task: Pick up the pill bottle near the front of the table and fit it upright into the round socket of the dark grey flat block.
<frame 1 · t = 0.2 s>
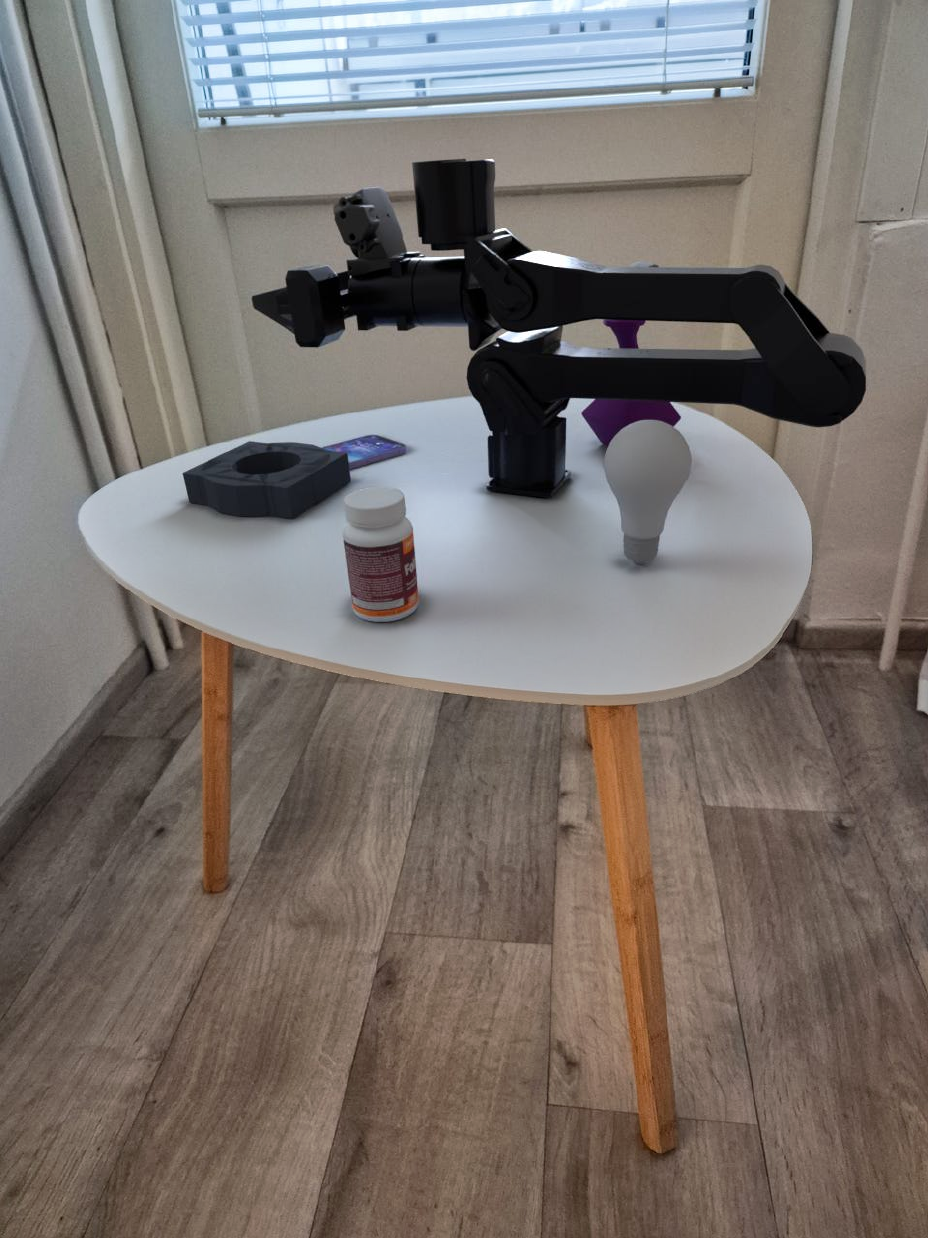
hand: (281, 294, 77), 17 cm above the table, tool horizontal, fingers open, 9 cm apart
lightbulb: (639, 565, 61), on the table
purple potion bottle: (628, 447, 85), on the table
smartphone: (334, 465, 85), on the table
dark grey flat block: (271, 491, 77), on the table
pill bottle: (386, 609, 57), on the table
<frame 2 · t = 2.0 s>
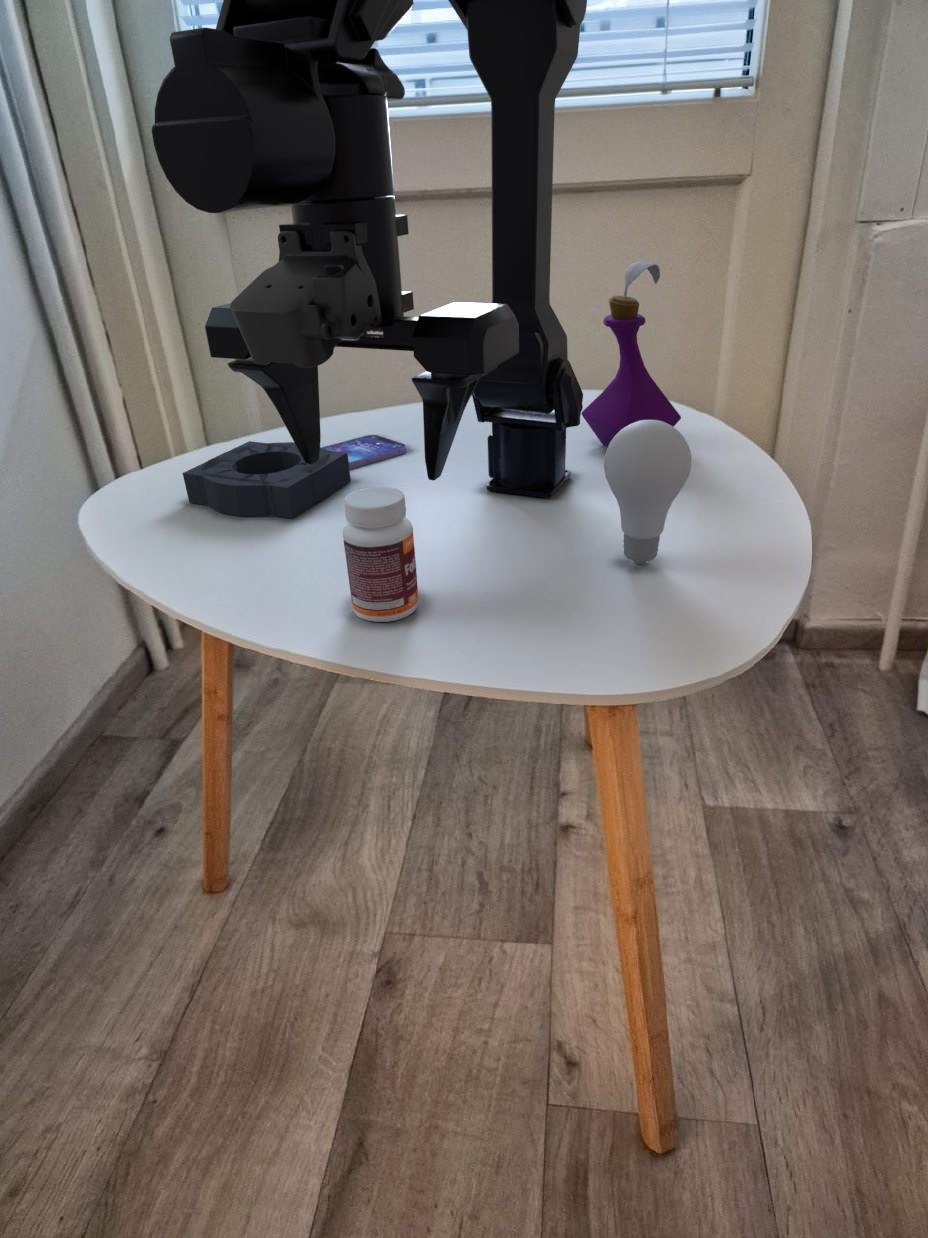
hand: (371, 470, 51), 10 cm above the table, tool pointing down, fingers open, 9 cm apart
nothing on the table moved.
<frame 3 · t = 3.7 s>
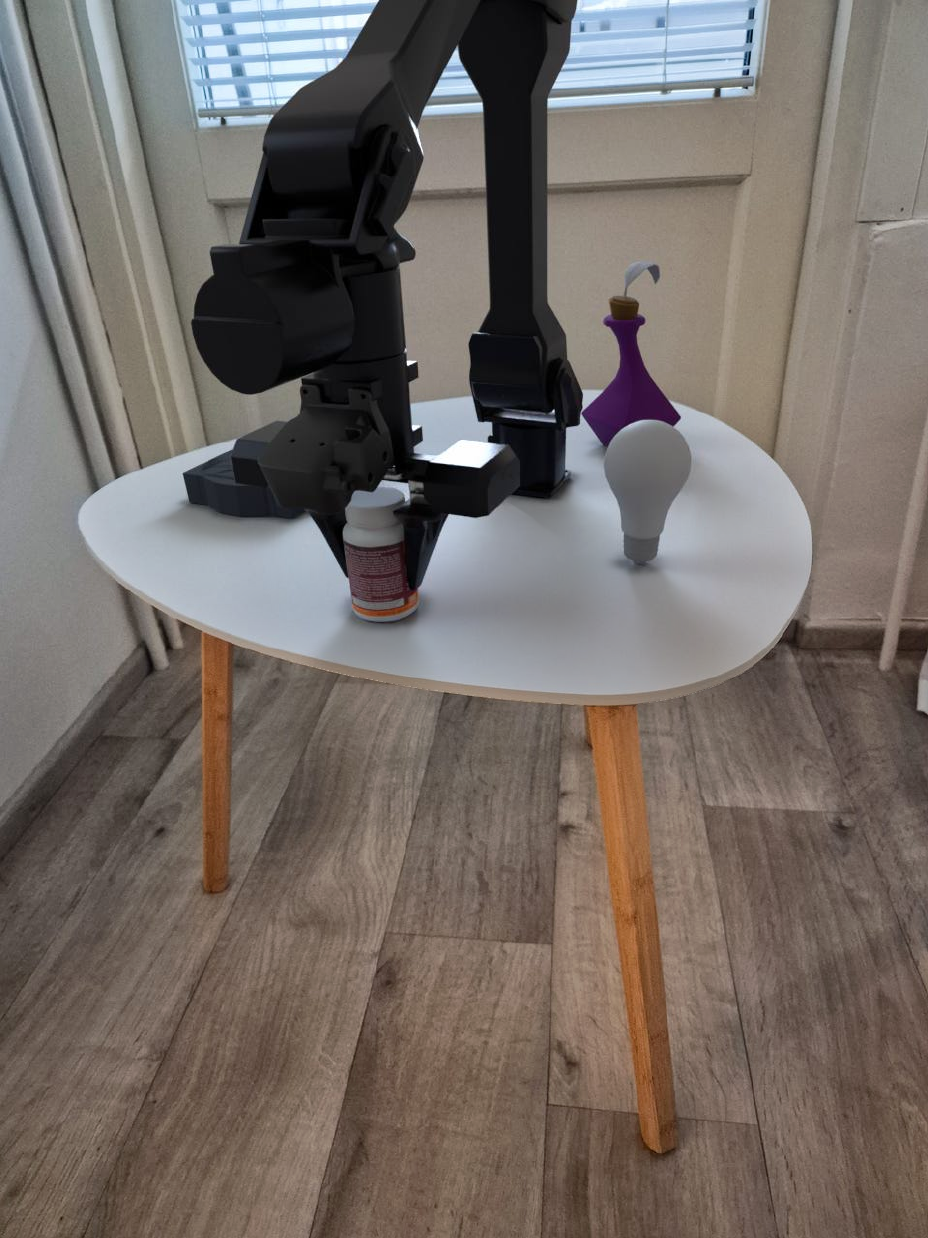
hand: (383, 581, 56), 2 cm above the table, tool pointing down, fingers closed on pill bottle, 5 cm apart
pill bottle: (386, 609, 57), on the table, touching gripper
everything else where it was.
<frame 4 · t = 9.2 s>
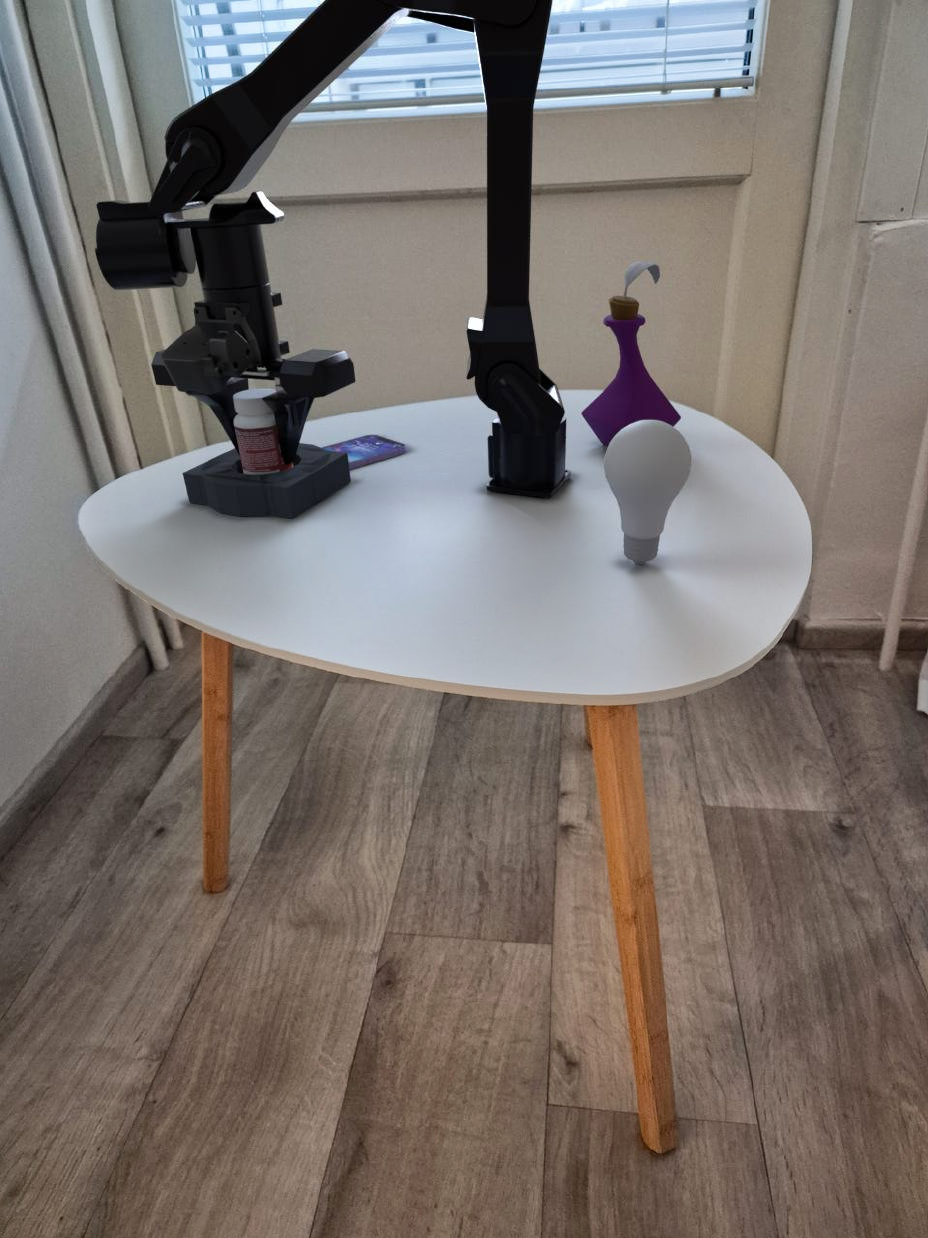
hand: (267, 460, 76), 3 cm above the table, tool pointing down, fingers closed on pill bottle, 5 cm apart
pill bottle: (271, 482, 77), point 1 cm above the table, touching gripper
everything else where it was.
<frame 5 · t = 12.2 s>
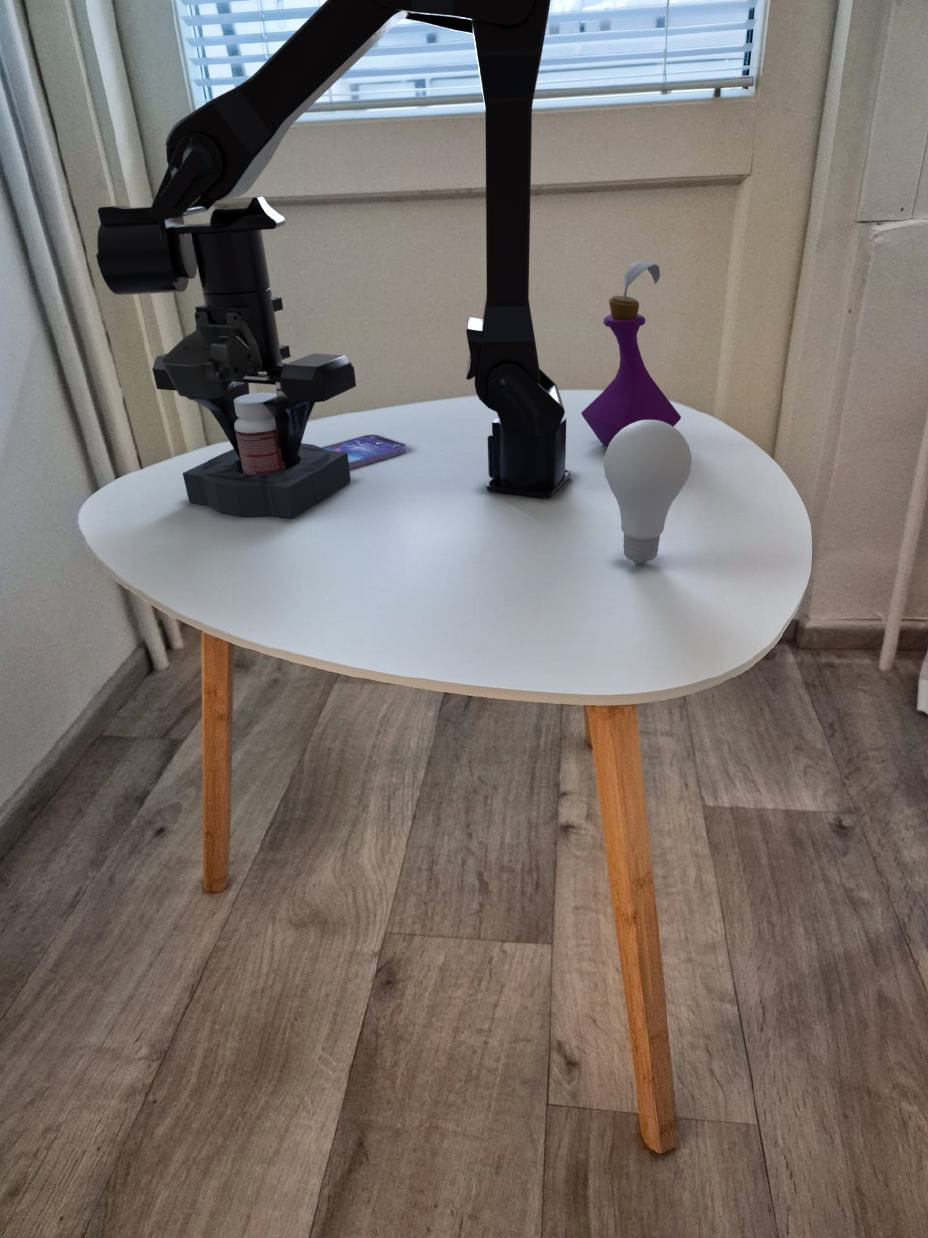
hand: (268, 464, 76), 3 cm above the table, tool pointing down, fingers closed on pill bottle, 5 cm apart
pill bottle: (271, 486, 77), point 1 cm above the table, touching gripper
everything else where it was.
when the fingers open (3 cm above the table, at t = 14.8 s): pill bottle drops 1 cm, resting in dark grey flat block.
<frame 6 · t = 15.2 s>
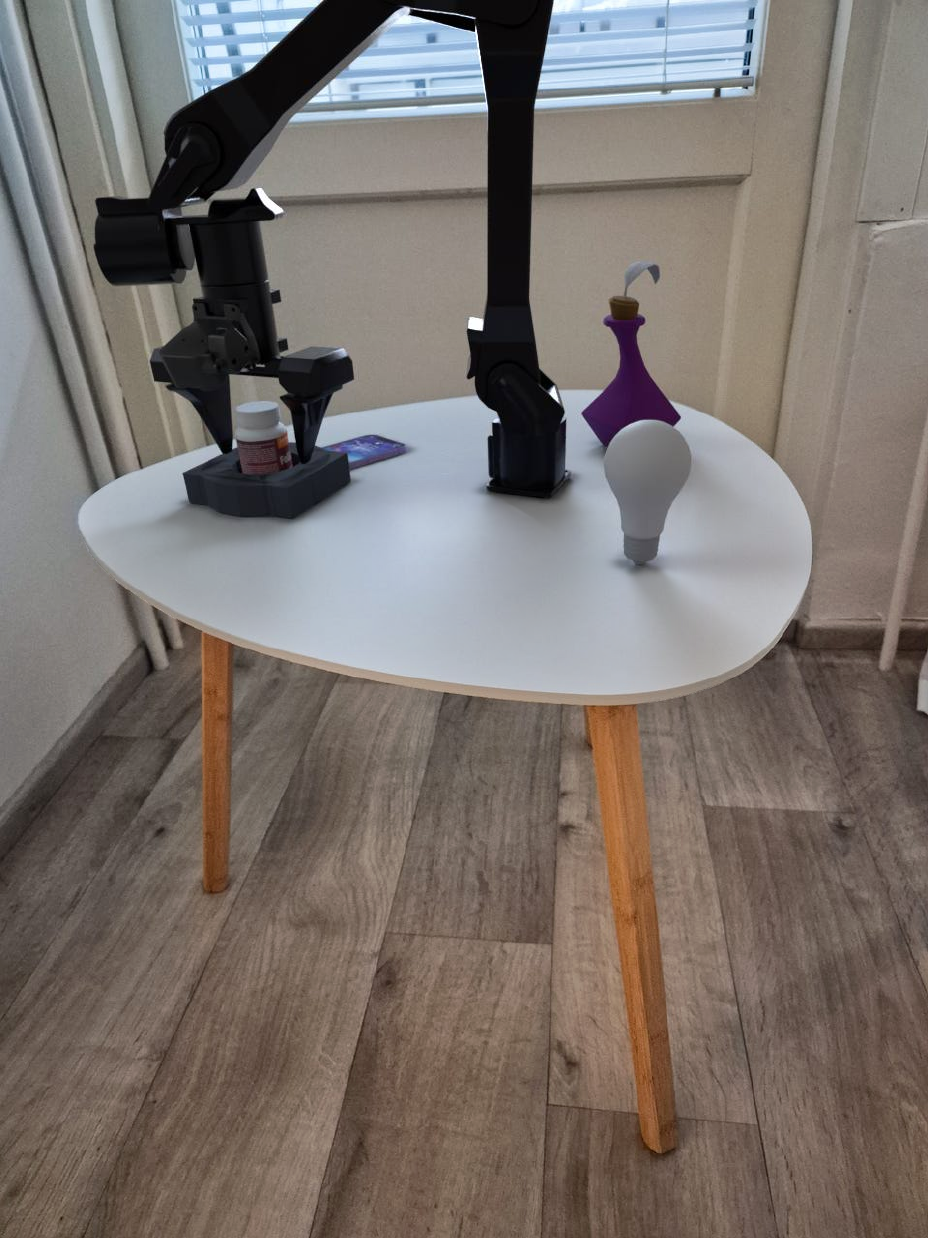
hand: (265, 457, 76), 3 cm above the table, tool pointing down, fingers open, 9 cm apart
pill bottle: (272, 494, 77), resting in dark grey flat block
everything else where it was.
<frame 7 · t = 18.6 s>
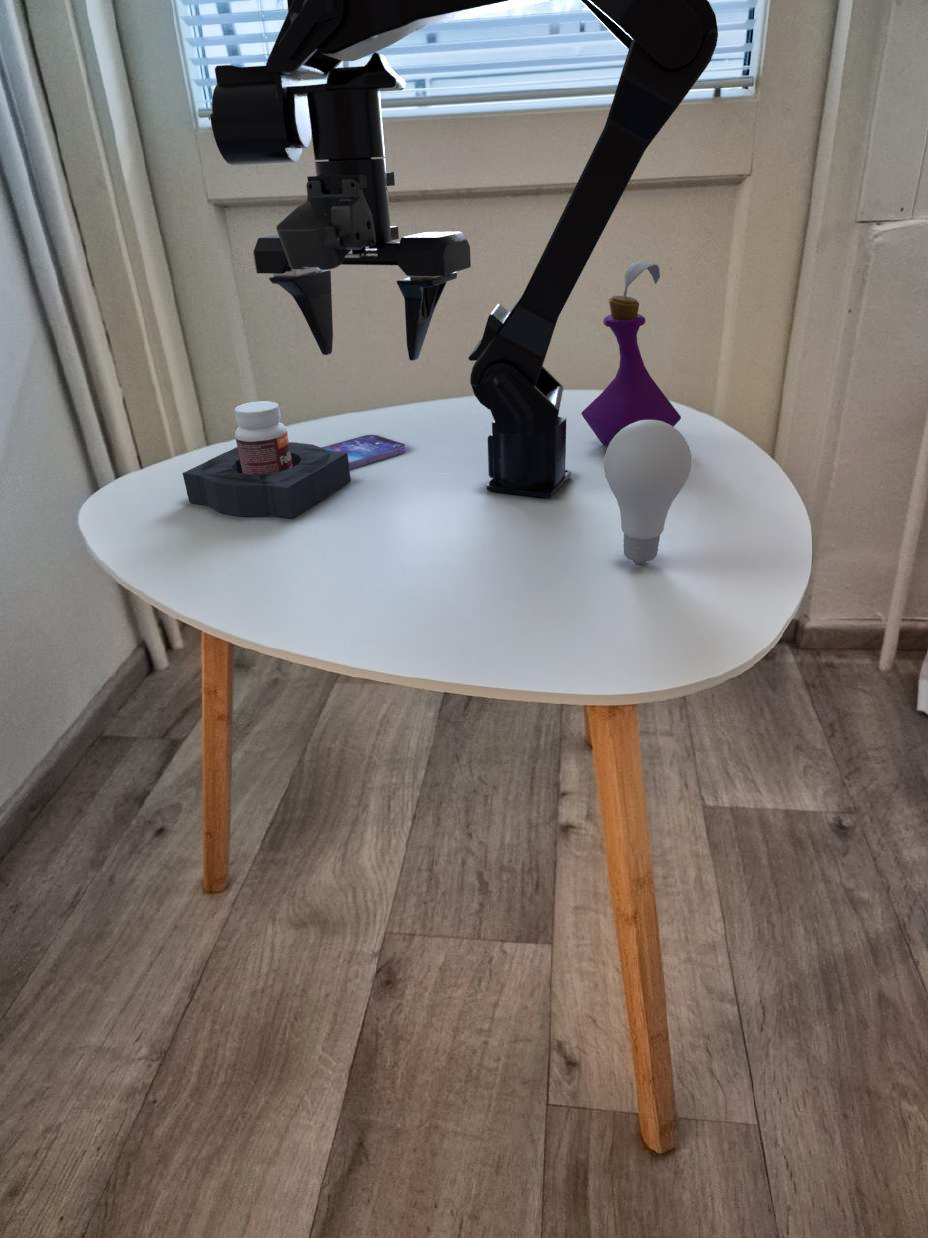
hand: (369, 356, 72), 12 cm above the table, tool pointing down, fingers open, 9 cm apart
nothing on the table moved.
at the end: pill bottle 0.1 cm off-centre in the dark grey flat block, point 0.0 cm above the dark grey flat block's base; pill bottle tilted 0°; the gripper is holding nothing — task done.
